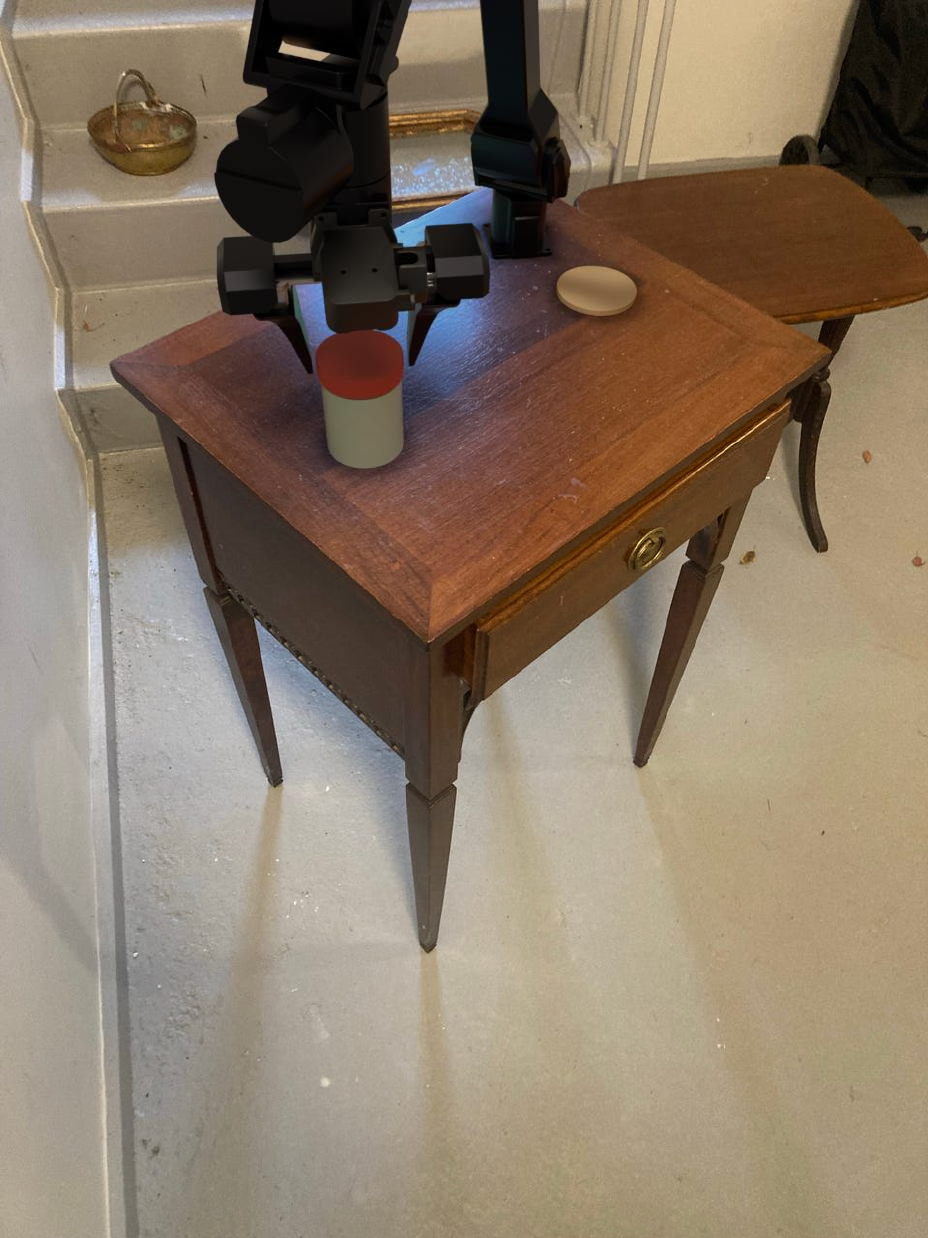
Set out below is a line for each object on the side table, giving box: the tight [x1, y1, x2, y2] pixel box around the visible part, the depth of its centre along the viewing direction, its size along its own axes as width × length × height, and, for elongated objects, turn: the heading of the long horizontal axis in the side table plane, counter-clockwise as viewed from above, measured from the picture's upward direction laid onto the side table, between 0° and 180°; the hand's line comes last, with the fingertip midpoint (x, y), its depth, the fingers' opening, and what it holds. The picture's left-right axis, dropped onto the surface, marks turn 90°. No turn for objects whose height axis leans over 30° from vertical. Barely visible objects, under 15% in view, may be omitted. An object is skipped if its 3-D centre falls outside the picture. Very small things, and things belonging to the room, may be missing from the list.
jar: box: [320, 379, 405, 470], centre depth 75 cm, size 6×6×8 cm
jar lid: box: [314, 330, 405, 399], centre depth 72 cm, size 7×7×2 cm
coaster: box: [555, 265, 638, 317], centre depth 93 cm, size 8×8×1 cm
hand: (360, 367), depth 72 cm, fingers open, 7 cm apart
